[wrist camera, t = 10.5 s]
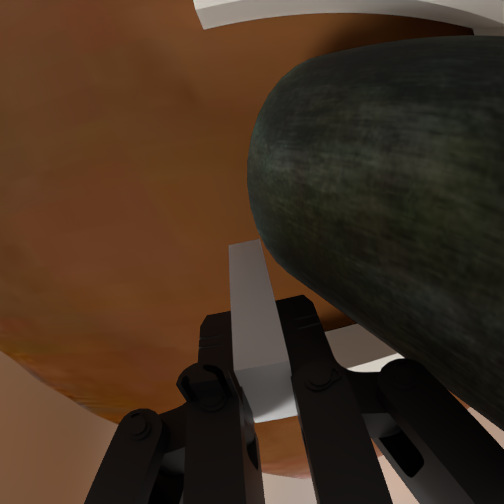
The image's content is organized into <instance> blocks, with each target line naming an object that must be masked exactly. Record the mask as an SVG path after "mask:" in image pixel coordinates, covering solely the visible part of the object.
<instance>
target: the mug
mask: <svg viewBox="0 0 504 504" xmlns="http://www.w3.org/2000/svg"><path fill="white" fill-rule="evenodd" d="M247 186H248V193H249V200H250V207H251V211H252V214H253V217H254V221H255V224H256V227H257V230H258V232H259V234H260V236H261V238H262V240H263V242H264V244H265V246H266V248H267V249H268V251H269V252H270V253H271V255H272V256H273V258H274V259H275V260H276V262H277V263H278V264H279V265H280V266H282V267H283V268H284V269H285V270H286V271H287V272H288V273H289V274H291V275H292V276H293V277H295V278H296V279H297V280H299V281H300V282H302V283H303V284H304V285H306V286H307V287H308V288H310V289H311V290H313V291H314V292H315V293H317V294H318V295H319V296H321V297H322V298H324V299H325V300H326V301H328V302H329V303H330V304H332V305H333V306H334V307H336V308H337V309H339V310H340V311H341V312H343V313H344V314H345V315H347V316H348V317H350V318H351V319H352V320H354V321H355V322H356V323H358V324H359V325H360V326H362V327H363V328H365V329H366V330H367V331H369V332H370V333H371V334H373V335H374V336H375V337H377V338H378V339H380V340H381V341H382V342H384V343H385V344H386V345H388V346H389V347H390V348H392V349H393V350H395V351H396V352H397V353H399V354H400V355H401V356H403V357H404V358H408V359H412V360H416V361H417V362H419V363H420V364H422V365H423V366H424V367H425V368H426V369H427V370H428V371H429V372H430V373H431V374H432V375H433V376H434V377H435V378H436V379H437V380H438V381H439V382H440V383H441V384H442V385H443V386H444V387H445V388H446V389H448V390H449V391H450V392H452V393H453V394H454V395H456V396H457V397H458V398H460V399H461V400H462V401H464V402H465V403H466V404H468V405H469V406H470V407H472V408H473V409H474V410H476V411H477V412H479V413H480V414H481V415H483V416H484V417H485V418H487V419H488V420H489V421H491V422H492V423H493V424H495V425H496V426H497V427H499V428H500V429H502V430H503V431H504V36H485V35H463V36H440V37H426V38H416V39H407V40H399V41H392V42H385V43H379V44H373V45H367V46H362V47H357V48H352V49H347V50H342V51H338V52H334V53H329V54H325V55H322V56H318V57H314V58H311V59H308V60H307V61H305V62H303V63H301V64H299V65H297V66H296V67H294V68H293V69H292V70H291V71H289V72H288V73H287V74H286V75H285V76H284V77H282V78H281V79H280V81H279V82H278V83H277V84H276V86H275V87H274V88H273V90H272V91H271V92H270V94H269V95H268V97H267V99H266V101H265V103H264V104H263V106H262V108H261V110H260V112H259V114H258V117H257V120H256V123H255V126H254V130H253V133H252V136H251V141H250V148H249V154H248V164H247Z"/></svg>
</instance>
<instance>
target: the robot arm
mask: <svg viewBox="0 0 504 504" xmlns="http://www.w3.org/2000/svg"><path fill="white" fill-rule="evenodd" d="M229 271H230V298H231V311H228V312H222V313H217V314H212V315H207V316H206V318H205V319H204V321H203V323H202V325H201V326H200V340H199V353H198V363H195V364H192V365H191V366H189V367H188V368H186V369H185V370H184V371H183V372H182V373H181V374H180V376H179V377H178V380H177V383H176V385H177V387H178V389H179V390H180V392H181V393H182V395H183V396H184V398H185V399H186V401H187V402H186V403H184V404H183V405H182V406H180V407H178V408H175V409H173V410H170V411H167V412H165V413H162V414H159V415H158V414H157V413H156V412H155V411H152V410H150V409H137V410H134V411H131V412H130V413H128V414H127V415H126V416H124V418H123V419H122V420H121V422H120V423H119V425H118V428H117V430H116V432H115V434H114V436H113V438H112V441H111V443H110V445H109V447H108V449H107V452H106V454H105V456H104V458H103V460H102V463H101V465H100V467H99V470H98V472H97V474H96V476H95V479H94V481H93V483H92V486H91V488H90V490H89V493H88V495H87V498H86V500H85V502H84V504H265V498H264V489H263V481H262V471H261V462H260V453H259V444H258V438H257V435H256V433H255V430H254V421H255V423H257V422H263V421H269V420H276V419H281V418H286V417H291V416H295V415H298V419H299V423H300V426H301V432H302V438H303V441H304V445H305V450H306V454H307V459H308V464H309V468H310V473H311V477H312V482H313V486H314V491H315V496H316V500H317V504H393V503H392V499H391V496H390V493H389V490H388V487H387V484H386V481H385V478H384V475H383V472H382V469H381V467H380V464H379V461H378V458H377V455H376V452H375V449H374V447H373V444H372V441H371V438H372V440H373V441H374V442H375V444H376V445H377V447H378V448H379V449H380V451H381V452H382V453H383V455H384V456H385V457H386V459H387V460H388V461H389V463H390V464H391V466H392V467H393V468H394V470H395V471H396V472H397V474H398V475H399V476H400V478H401V479H402V481H403V482H404V483H405V485H406V486H407V487H408V489H409V490H410V491H411V493H412V494H413V495H414V497H415V498H416V499H417V501H418V502H419V503H420V504H504V449H503V448H502V447H501V446H500V445H499V443H498V442H497V441H496V440H495V439H494V438H493V437H492V436H491V435H490V434H489V433H488V432H487V431H486V430H485V429H484V427H483V426H482V425H481V424H480V423H479V422H478V421H477V420H476V419H475V418H474V417H473V416H472V415H471V414H470V413H469V412H468V410H467V409H466V408H465V407H464V406H463V405H462V404H461V403H460V402H459V401H458V400H457V399H456V398H455V397H454V396H453V395H452V394H451V393H450V392H449V391H448V390H447V389H446V388H445V387H444V386H443V385H442V384H441V383H440V382H439V381H438V380H437V379H436V378H435V377H434V376H433V375H432V374H431V373H430V372H429V371H428V370H427V369H426V368H425V367H424V366H423V365H422V364H420V363H419V362H417V361H416V360H412V359H408V358H399V359H395V360H392V361H390V362H388V363H387V364H386V365H385V366H383V367H382V369H381V371H380V372H355V371H352V370H348V369H346V368H344V367H343V366H341V365H340V364H339V363H338V362H337V361H336V359H335V357H334V355H333V353H332V350H331V347H330V345H329V342H328V340H327V337H326V335H325V332H324V329H323V327H322V324H321V322H320V319H319V317H318V315H317V312H316V309H315V307H314V304H313V302H312V301H310V300H309V299H308V298H307V297H305V296H304V295H299V296H295V297H290V298H286V299H281V300H277V301H275V299H274V295H273V290H272V286H271V282H270V278H269V274H268V270H267V266H266V262H265V258H264V254H263V250H262V246H261V241H260V239H257V240H252V241H247V242H242V243H238V244H233V245H229ZM253 419H254V421H253Z"/></svg>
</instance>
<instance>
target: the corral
mask: <svg viewBox="0 0 504 504" xmlns="http://www.w3.org/2000/svg"><path fill="white" fill-rule="evenodd" d="M193 1H194V5H195V9H196V12H197V14H198V17H199V19H200V22H201V24H202V26H203V29H209V28H213V27H217V26H222V25H227V24H232V23H237V22H243V21H249V20H255V19H262V18H269V17H277V16H287V15H298V14H313V13H372V14H387V15H398V16H407V17H415V18H422V19H428V20H434V21H440V22H445V23H450V24H455V25H459V26H464V27H468V28H472V29H473V32H474V35H485V36H504V1H502V0H193ZM325 335H326V337H327V340H328V342H329V345H330V347H331V350H332V353H333V355H334V357H335V359H336V361H337V362H338V363H339V364H340V365H341V366H343V367H344V368H346V369H348V370H352V371H355V372H380V371H381V369H382V367H383V366H385V365H386V364H387V363H388V362H390V361H392V360H395V359H399V358H404V357H403V356H401V355H400V354H399V353H397V352H396V351H395V350H393V349H392V348H390V347H389V346H388V345H386V344H385V343H384V342H382V341H381V340H380V339H378V338H377V337H375V336H374V335H373V334H371V333H370V332H369V331H367V330H366V329H365V328H363V327H362V326H360V325H359V324H354V325H350V326H346V327H343V328H339V329H335V330H331V331H327V332H325Z"/></svg>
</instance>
